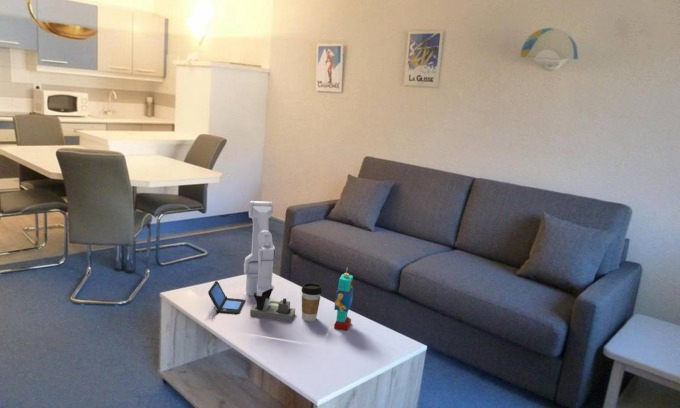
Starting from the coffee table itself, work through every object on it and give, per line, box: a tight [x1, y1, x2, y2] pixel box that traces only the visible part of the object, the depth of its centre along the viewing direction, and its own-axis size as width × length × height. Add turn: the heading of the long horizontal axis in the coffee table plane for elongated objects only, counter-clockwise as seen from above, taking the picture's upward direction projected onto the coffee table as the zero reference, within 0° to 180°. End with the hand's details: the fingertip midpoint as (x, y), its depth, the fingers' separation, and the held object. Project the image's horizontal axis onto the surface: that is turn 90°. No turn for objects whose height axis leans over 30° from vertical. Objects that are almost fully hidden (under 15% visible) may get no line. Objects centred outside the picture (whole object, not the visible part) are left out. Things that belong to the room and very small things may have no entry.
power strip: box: [249, 303, 296, 322], centre depth 217 cm, size 8×17×3 cm, turn 82°
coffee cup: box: [301, 282, 323, 322], centre depth 216 cm, size 8×8×15 cm
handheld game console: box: [207, 280, 246, 315], centre depth 221 cm, size 16×13×9 cm
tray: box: [269, 299, 280, 306], centre depth 226 cm, size 8×8×1 cm
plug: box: [257, 298, 271, 311], centre depth 217 cm, size 4×4×8 cm
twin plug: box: [278, 297, 291, 314], centre depth 216 cm, size 4×4×8 cm
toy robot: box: [333, 267, 354, 332], centre depth 212 cm, size 12×6×25 cm, turn 168°
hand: (262, 306), depth 217 cm, fingers open, 7 cm apart
